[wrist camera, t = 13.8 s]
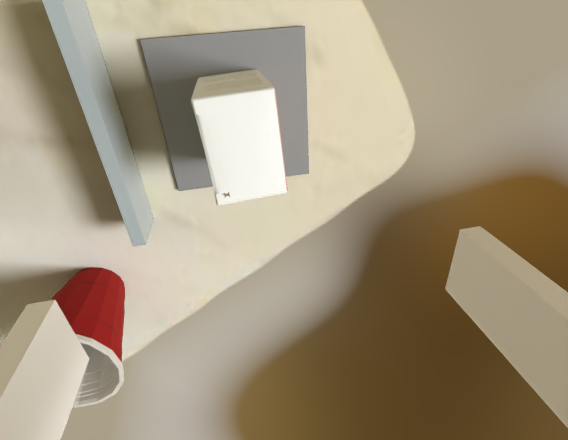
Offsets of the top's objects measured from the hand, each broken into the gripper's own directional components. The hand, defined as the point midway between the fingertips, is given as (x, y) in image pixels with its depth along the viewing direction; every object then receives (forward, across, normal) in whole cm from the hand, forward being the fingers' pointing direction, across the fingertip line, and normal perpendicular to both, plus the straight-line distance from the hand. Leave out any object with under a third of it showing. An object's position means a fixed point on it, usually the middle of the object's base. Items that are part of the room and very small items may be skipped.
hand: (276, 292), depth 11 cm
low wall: (+25, +11, 0) cm, 27 cm away
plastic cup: (+26, +19, +18) cm, 36 cm away
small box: (+25, 0, 0) cm, 25 cm away
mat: (+25, 0, 0) cm, 25 cm away
